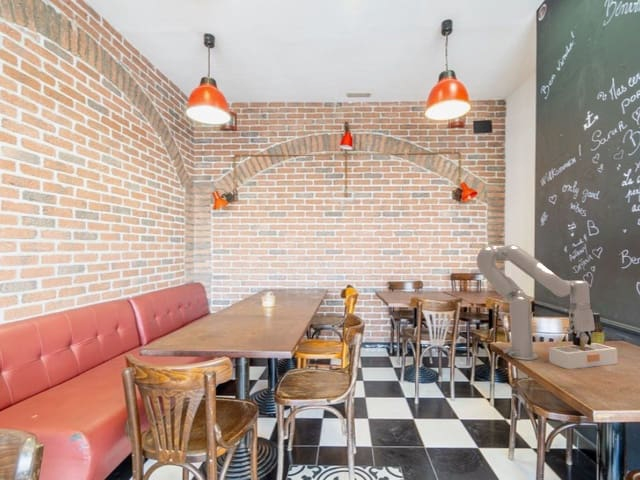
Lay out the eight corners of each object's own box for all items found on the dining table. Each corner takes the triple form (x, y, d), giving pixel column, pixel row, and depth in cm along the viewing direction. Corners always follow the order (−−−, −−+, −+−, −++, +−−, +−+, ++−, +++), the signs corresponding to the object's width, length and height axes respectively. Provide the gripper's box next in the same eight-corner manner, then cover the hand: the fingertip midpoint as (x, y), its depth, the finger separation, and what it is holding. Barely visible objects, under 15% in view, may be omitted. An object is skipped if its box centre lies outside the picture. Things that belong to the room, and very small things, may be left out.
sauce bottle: (608, 353, 176) (606, 314, 176) (594, 353, 177) (592, 314, 178) (601, 350, 182) (598, 312, 183) (587, 349, 183) (585, 312, 184)
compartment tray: (569, 369, 155) (568, 354, 155) (549, 362, 165) (548, 347, 166) (619, 364, 160) (618, 348, 161) (596, 357, 171) (595, 343, 171)
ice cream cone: (591, 361, 159) (589, 329, 160) (576, 360, 162) (574, 328, 163) (589, 358, 164) (587, 326, 165) (574, 356, 167) (573, 325, 168)
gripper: (572, 308, 159) (574, 348, 158) (602, 306, 162) (604, 345, 162) (558, 306, 166) (559, 344, 166) (587, 304, 169) (589, 341, 169)
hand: (582, 344), depth 164 cm, fingers closed on ice cream cone, 5 cm apart
